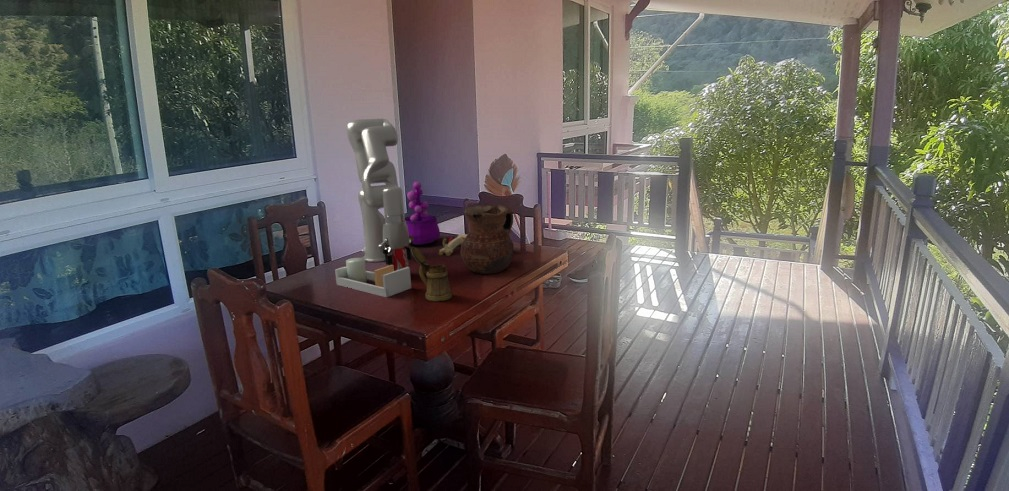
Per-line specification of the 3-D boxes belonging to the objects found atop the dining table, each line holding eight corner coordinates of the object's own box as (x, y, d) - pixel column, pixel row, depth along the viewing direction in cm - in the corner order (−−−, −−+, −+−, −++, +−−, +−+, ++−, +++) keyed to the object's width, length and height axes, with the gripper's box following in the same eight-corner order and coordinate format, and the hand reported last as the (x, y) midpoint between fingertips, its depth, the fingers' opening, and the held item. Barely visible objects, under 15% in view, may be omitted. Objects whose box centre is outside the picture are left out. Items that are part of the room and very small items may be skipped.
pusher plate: (376, 291, 212) (374, 270, 210) (393, 285, 219) (391, 264, 217) (377, 292, 212) (375, 270, 210) (395, 285, 218) (393, 265, 216)
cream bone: (454, 259, 259) (476, 241, 281) (453, 240, 256) (475, 224, 278) (434, 258, 262) (458, 240, 284) (432, 239, 259) (456, 223, 281)
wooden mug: (420, 292, 211) (416, 243, 207) (455, 294, 207) (452, 244, 203) (409, 300, 203) (405, 249, 198) (446, 302, 199) (443, 251, 195)
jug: (495, 280, 222) (492, 215, 216) (450, 273, 233) (447, 211, 227) (524, 265, 240) (522, 204, 234) (482, 259, 251) (479, 201, 245)
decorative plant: (423, 250, 271) (418, 185, 264) (393, 245, 281) (388, 183, 274) (448, 241, 286) (444, 179, 279) (419, 237, 296) (415, 178, 289)
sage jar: (344, 283, 224) (342, 261, 222) (359, 279, 230) (356, 256, 227) (356, 286, 220) (353, 263, 218) (370, 281, 225) (368, 259, 223)
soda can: (404, 278, 228) (402, 248, 225) (387, 278, 230) (384, 248, 227) (410, 273, 235) (408, 244, 232) (394, 272, 236) (391, 243, 233)
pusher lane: (336, 284, 223) (334, 264, 221) (361, 276, 232) (359, 257, 230) (386, 297, 207) (384, 275, 205) (411, 288, 216) (409, 267, 214)
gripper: (404, 214, 235) (408, 256, 239) (370, 222, 222) (375, 265, 226) (417, 216, 231) (421, 258, 235) (384, 223, 218) (388, 268, 221)
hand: (398, 261), depth 230 cm, fingers open, 9 cm apart
